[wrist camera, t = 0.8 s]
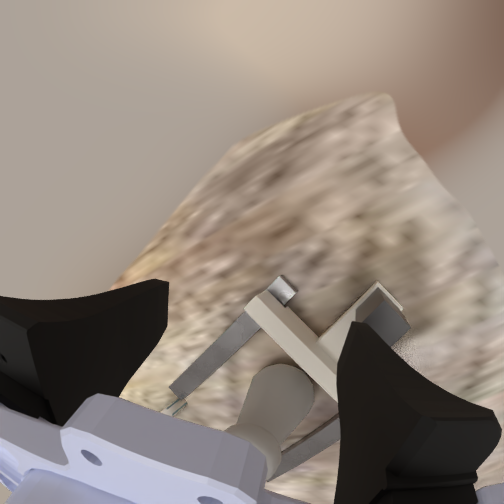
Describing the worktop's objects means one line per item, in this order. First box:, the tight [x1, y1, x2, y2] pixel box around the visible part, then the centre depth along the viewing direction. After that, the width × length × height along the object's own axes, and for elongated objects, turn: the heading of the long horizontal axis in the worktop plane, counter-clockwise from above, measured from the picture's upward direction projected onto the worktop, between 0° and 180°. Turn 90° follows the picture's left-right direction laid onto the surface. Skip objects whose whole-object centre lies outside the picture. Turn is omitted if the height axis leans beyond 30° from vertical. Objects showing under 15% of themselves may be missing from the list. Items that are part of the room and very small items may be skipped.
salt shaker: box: [224, 364, 314, 480], centre depth 22 cm, size 6×6×13 cm
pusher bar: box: [243, 281, 411, 403], centre depth 22 cm, size 15×8×8 cm, turn 47°
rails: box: [169, 275, 341, 482], centre depth 28 cm, size 15×17×1 cm
